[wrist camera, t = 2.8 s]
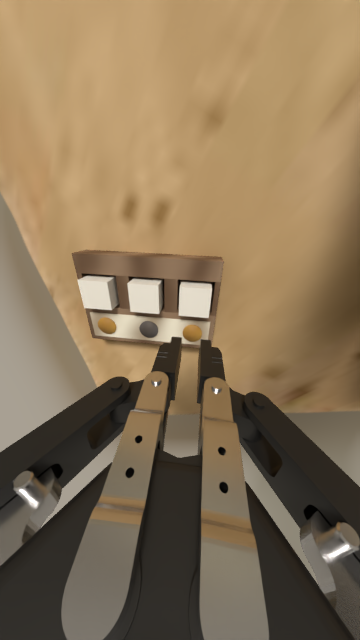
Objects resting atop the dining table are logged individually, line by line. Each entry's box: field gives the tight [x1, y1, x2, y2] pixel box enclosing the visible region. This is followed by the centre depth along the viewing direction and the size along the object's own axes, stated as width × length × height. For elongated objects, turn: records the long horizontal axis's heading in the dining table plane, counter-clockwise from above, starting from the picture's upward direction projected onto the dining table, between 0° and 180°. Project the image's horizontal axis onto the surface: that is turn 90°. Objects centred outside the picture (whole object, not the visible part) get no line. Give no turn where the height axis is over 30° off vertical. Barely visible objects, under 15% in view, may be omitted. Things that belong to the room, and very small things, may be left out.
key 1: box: [78, 275, 119, 310], centre depth 23 cm, size 4×4×2 cm
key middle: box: [127, 278, 163, 314], centre depth 22 cm, size 4×4×2 cm
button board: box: [72, 250, 224, 348], centre depth 24 cm, size 18×12×3 cm
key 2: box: [179, 281, 212, 318], centre depth 22 cm, size 4×4×2 cm
